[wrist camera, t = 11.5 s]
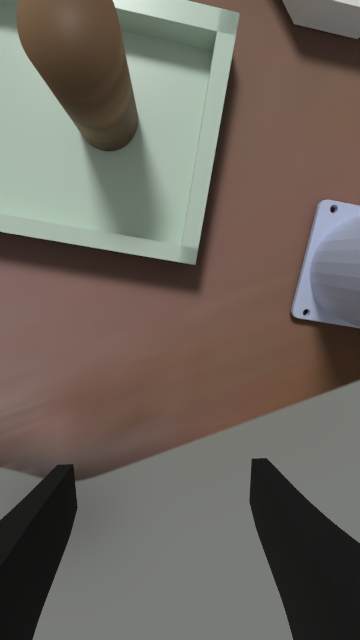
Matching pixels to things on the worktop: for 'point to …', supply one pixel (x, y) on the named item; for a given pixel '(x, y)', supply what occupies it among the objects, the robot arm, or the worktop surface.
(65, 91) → the dowel pin
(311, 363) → the worktop surface
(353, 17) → the white octagonal ring
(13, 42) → the tray
